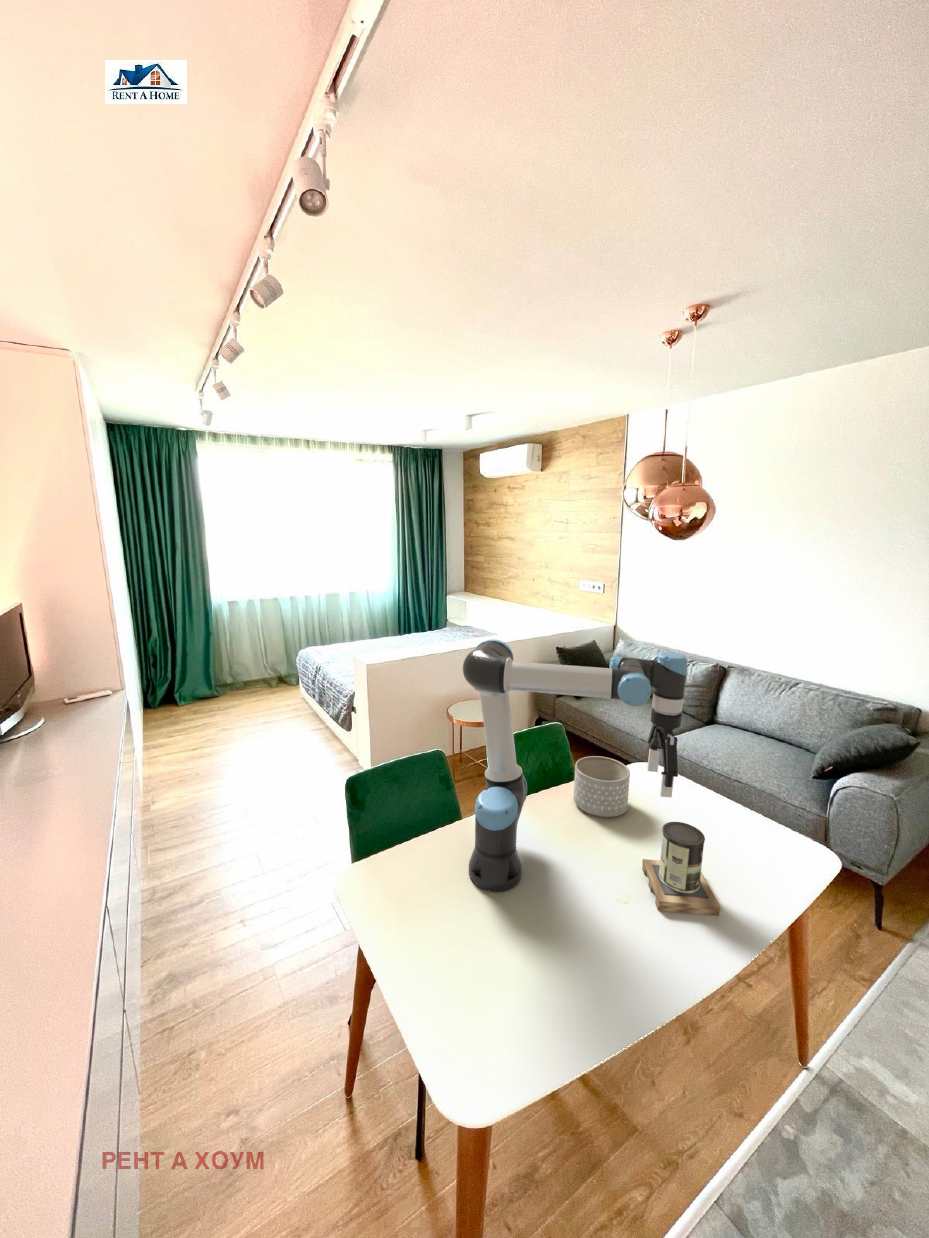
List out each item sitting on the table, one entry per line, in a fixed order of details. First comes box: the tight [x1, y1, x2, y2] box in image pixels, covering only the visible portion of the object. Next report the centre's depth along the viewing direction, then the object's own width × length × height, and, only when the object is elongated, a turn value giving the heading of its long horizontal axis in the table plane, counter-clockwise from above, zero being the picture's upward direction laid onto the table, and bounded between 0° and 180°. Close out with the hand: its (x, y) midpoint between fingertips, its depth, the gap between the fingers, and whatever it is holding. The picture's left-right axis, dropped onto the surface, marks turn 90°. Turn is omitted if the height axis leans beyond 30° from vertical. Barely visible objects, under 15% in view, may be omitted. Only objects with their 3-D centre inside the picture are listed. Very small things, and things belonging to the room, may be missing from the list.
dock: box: [641, 858, 722, 917], centre depth 127 cm, size 15×16×3 cm
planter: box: [573, 755, 631, 818], centre depth 167 cm, size 19×19×14 cm
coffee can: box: [659, 821, 706, 893], centre depth 126 cm, size 10×10×14 cm
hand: (658, 783), depth 129 cm, fingers open, 13 cm apart
